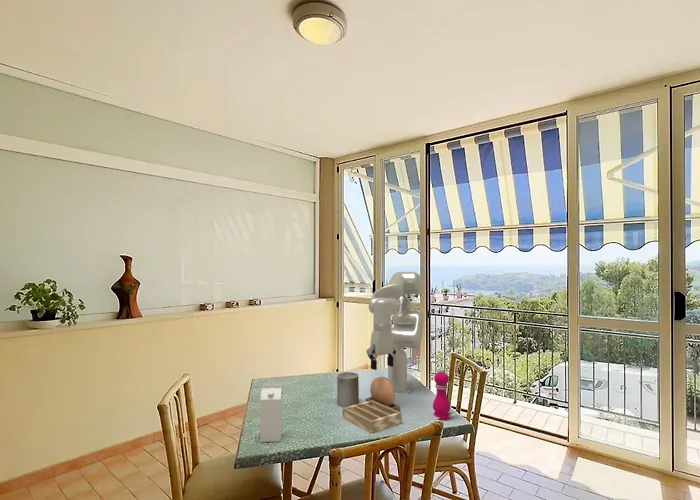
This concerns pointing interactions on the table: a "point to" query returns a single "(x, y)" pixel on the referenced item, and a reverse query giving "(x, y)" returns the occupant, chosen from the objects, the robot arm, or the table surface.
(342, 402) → the pillar candle
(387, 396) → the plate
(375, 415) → the rack
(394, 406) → the narrow wooden tray
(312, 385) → the table surface
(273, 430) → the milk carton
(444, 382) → the pepper mill
